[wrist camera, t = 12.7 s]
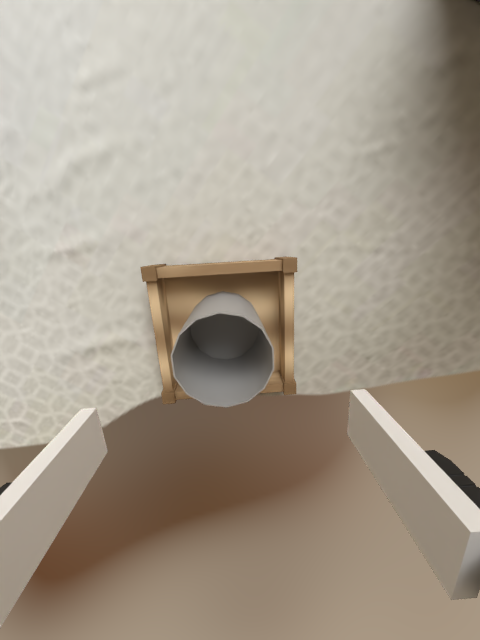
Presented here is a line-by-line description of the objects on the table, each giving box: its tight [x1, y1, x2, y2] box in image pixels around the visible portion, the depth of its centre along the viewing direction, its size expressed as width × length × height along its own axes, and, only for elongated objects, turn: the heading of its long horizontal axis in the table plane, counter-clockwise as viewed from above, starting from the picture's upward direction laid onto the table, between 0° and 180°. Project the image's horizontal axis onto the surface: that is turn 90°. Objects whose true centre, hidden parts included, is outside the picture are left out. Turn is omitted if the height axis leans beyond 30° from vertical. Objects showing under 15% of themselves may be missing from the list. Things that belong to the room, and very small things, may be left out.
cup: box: [171, 291, 274, 407], centre depth 25 cm, size 8×8×10 cm
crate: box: [141, 257, 297, 404], centre depth 28 cm, size 15×15×4 cm
